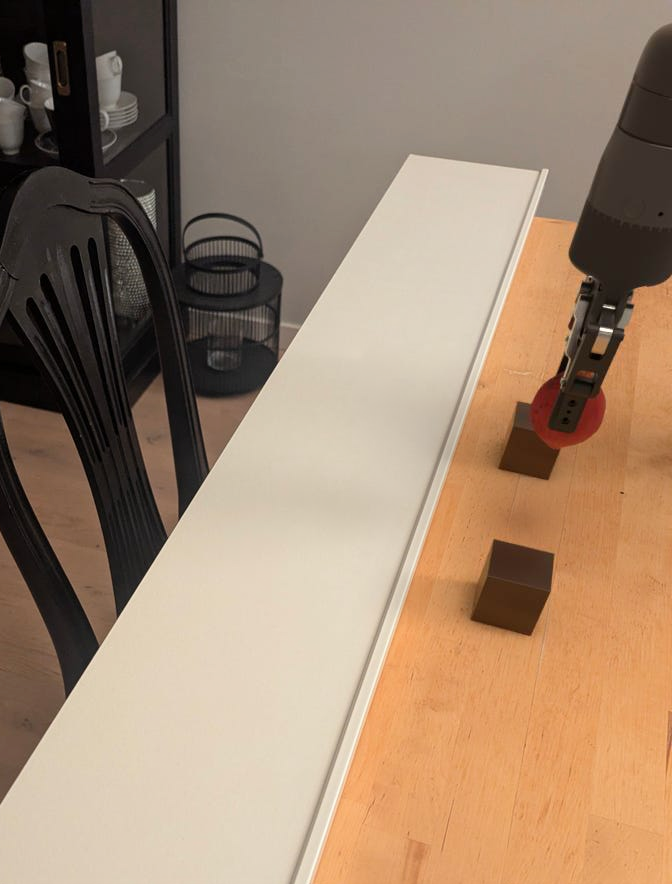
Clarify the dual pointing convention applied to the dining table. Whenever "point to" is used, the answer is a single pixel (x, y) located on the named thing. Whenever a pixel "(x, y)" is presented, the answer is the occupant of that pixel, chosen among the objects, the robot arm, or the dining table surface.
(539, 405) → the onion
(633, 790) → the dining table surface
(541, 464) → the walnut block far
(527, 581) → the walnut block near
